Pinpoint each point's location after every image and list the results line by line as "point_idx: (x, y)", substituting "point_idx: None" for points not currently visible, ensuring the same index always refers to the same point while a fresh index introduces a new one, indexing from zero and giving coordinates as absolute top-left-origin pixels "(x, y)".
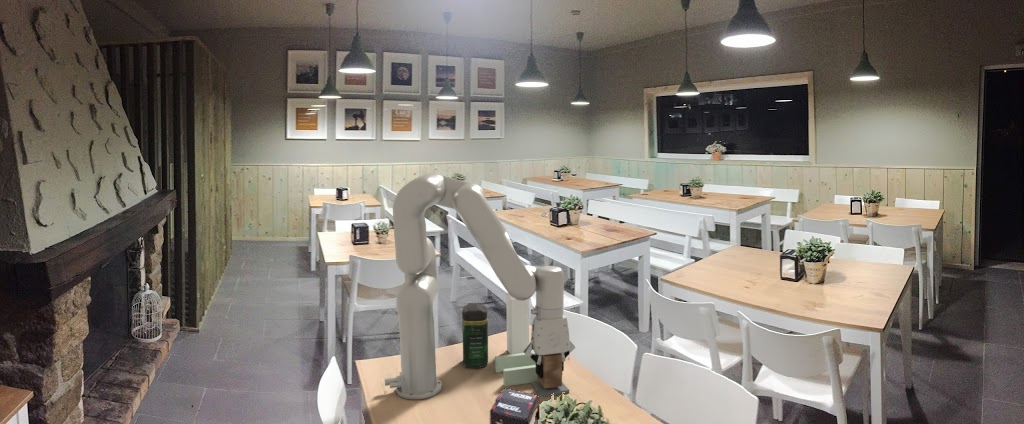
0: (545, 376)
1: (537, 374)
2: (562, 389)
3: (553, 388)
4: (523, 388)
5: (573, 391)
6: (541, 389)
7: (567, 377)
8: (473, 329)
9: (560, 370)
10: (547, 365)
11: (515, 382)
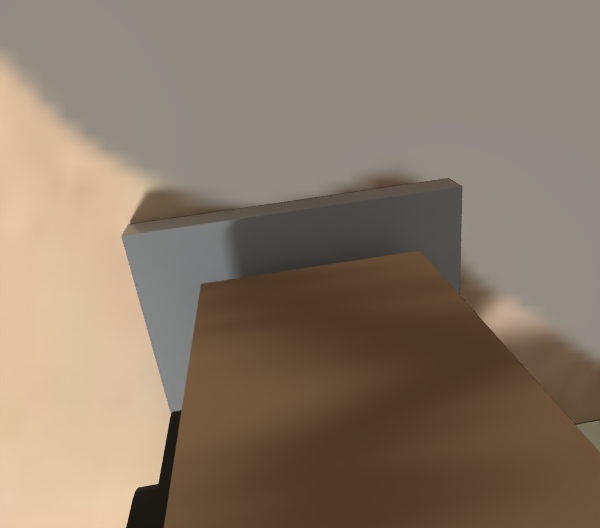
0: (477, 329)
1: None
2: (199, 256)
3: None
4: (543, 363)
5: (72, 247)
6: None
7: (98, 510)
8: None
9: (212, 418)
10: (551, 480)
11: (595, 439)
